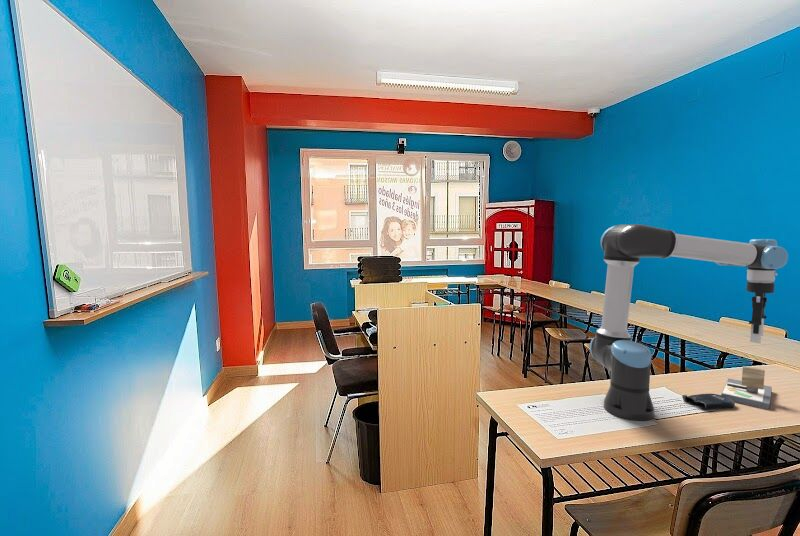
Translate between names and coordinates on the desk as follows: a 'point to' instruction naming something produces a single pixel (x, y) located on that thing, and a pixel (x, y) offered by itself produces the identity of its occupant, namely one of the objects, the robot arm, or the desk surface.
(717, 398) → the dark grey hollow piece
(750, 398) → the board
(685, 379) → the desk surface
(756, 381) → the wooden block with bar
